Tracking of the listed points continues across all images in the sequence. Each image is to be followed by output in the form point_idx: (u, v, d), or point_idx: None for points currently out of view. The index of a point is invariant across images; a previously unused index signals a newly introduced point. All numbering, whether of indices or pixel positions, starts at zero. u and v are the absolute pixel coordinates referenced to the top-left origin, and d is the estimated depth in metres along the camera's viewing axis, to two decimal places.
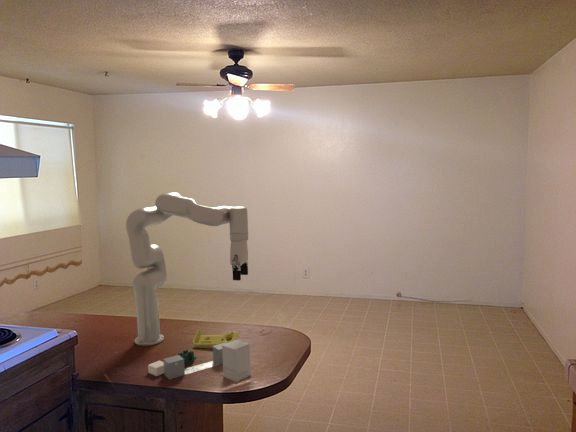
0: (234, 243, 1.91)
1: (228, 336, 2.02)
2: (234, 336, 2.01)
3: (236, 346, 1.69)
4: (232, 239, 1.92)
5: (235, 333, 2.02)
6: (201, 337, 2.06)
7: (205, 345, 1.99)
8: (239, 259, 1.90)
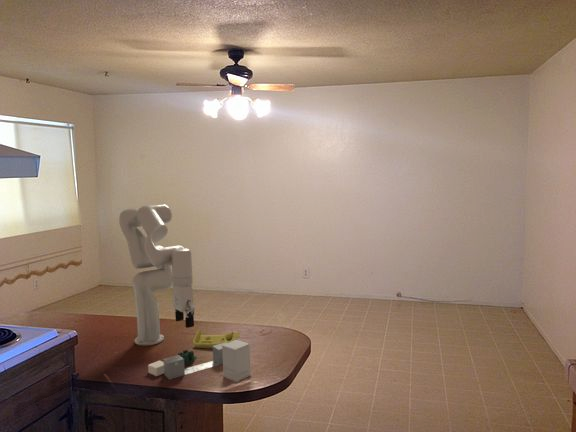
0: (186, 288, 1.78)
1: (228, 336, 2.02)
2: (234, 336, 2.01)
3: (236, 346, 1.69)
4: (181, 284, 1.78)
5: (235, 333, 2.02)
6: (201, 337, 2.06)
7: (205, 345, 1.99)
8: (192, 304, 1.80)
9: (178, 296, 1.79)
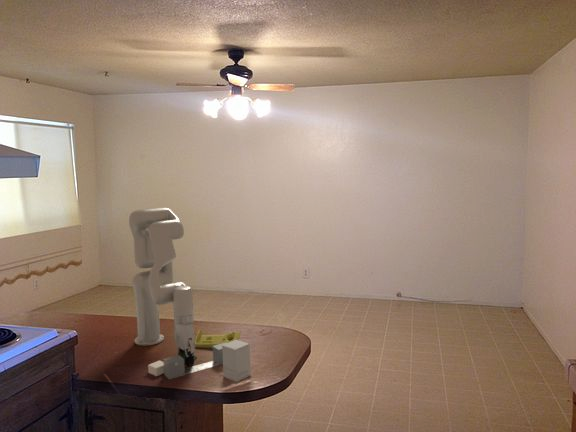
0: (188, 326, 1.80)
1: (229, 336, 2.03)
2: (236, 336, 2.01)
3: (236, 346, 1.69)
4: (183, 323, 1.80)
5: (236, 333, 2.03)
6: (202, 337, 2.06)
7: (207, 345, 1.99)
8: (193, 342, 1.81)
9: (179, 334, 1.81)
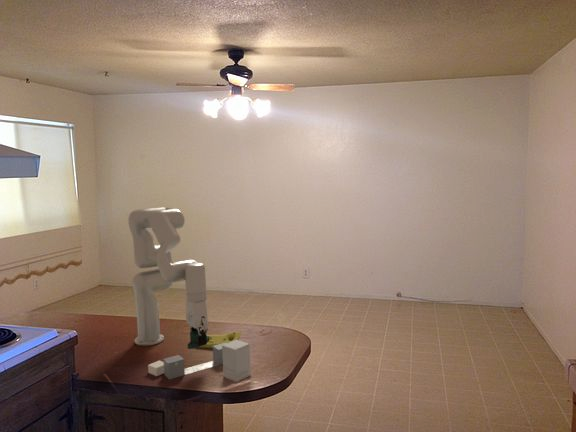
0: (200, 303, 1.73)
1: (230, 336, 2.02)
2: (236, 336, 2.01)
3: (236, 346, 1.69)
4: (195, 300, 1.74)
5: (237, 333, 2.02)
6: None
7: (207, 345, 1.99)
8: (206, 320, 1.75)
9: (192, 312, 1.74)
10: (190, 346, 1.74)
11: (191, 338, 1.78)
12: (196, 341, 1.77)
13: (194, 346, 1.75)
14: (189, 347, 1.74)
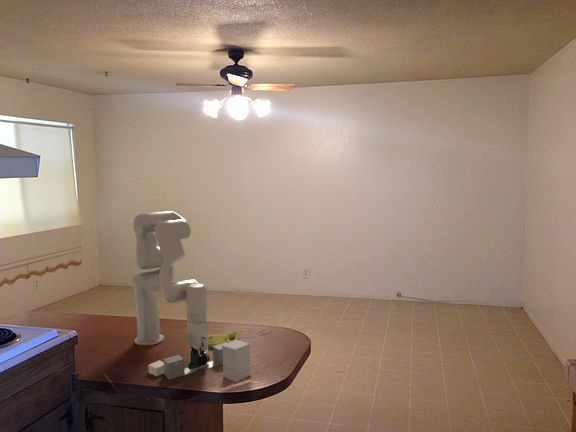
0: (201, 325, 1.74)
1: (231, 336, 2.03)
2: (237, 335, 2.01)
3: (236, 346, 1.69)
4: (196, 321, 1.75)
5: (238, 332, 2.03)
6: None
7: (208, 345, 1.99)
8: (207, 341, 1.76)
9: (192, 333, 1.75)
10: (190, 367, 1.75)
11: (191, 358, 1.79)
12: (196, 361, 1.78)
13: (194, 366, 1.76)
14: (189, 368, 1.75)
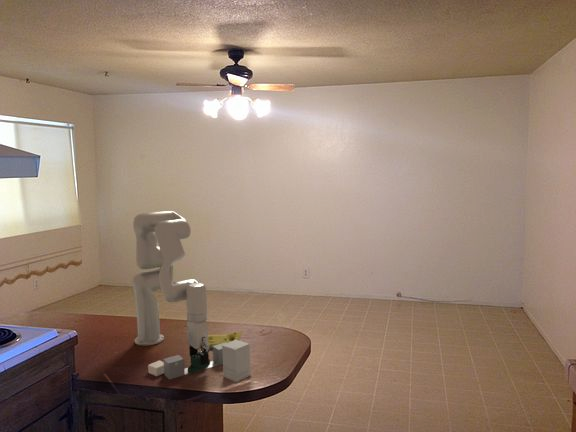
0: (201, 324, 1.74)
1: (231, 336, 2.02)
2: (237, 336, 2.01)
3: (236, 346, 1.69)
4: (196, 321, 1.74)
5: (238, 333, 2.02)
6: None
7: None
8: (207, 340, 1.76)
9: (193, 332, 1.75)
10: (190, 370, 1.76)
11: (191, 362, 1.79)
12: (196, 365, 1.78)
13: (194, 370, 1.76)
14: (189, 371, 1.76)
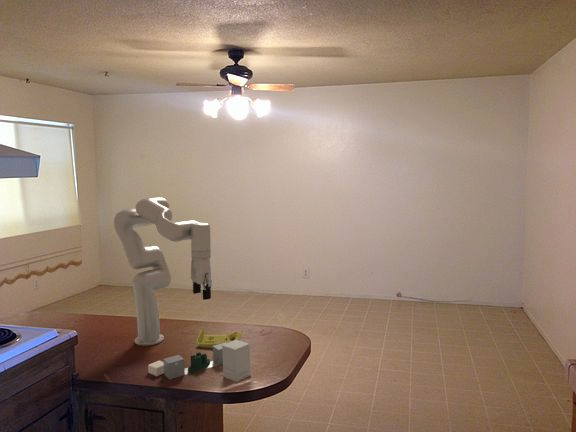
0: (205, 261, 1.83)
1: (232, 336, 2.02)
2: (238, 336, 2.01)
3: (236, 346, 1.69)
4: (200, 257, 1.83)
5: (239, 333, 2.02)
6: (204, 337, 2.06)
7: (209, 345, 1.99)
8: (209, 277, 1.85)
9: (196, 269, 1.84)
10: (190, 370, 1.76)
11: (191, 362, 1.79)
12: (196, 365, 1.78)
13: (194, 370, 1.76)
14: (189, 371, 1.76)
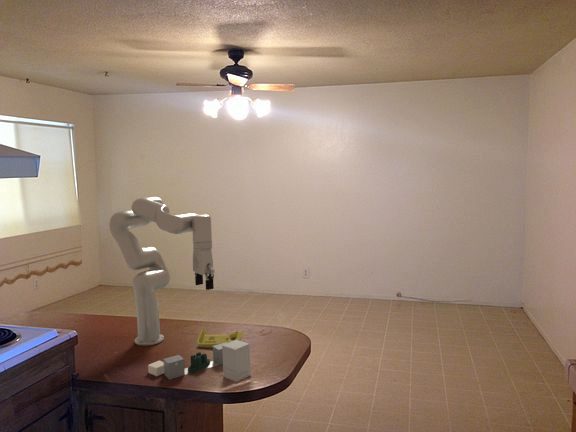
0: (207, 251, 1.87)
1: (232, 336, 2.03)
2: (238, 335, 2.01)
3: (236, 346, 1.69)
4: (202, 248, 1.87)
5: (239, 332, 2.03)
6: (205, 337, 2.06)
7: (210, 345, 1.99)
8: None
9: (198, 260, 1.88)
10: (190, 370, 1.76)
11: (191, 362, 1.79)
12: (196, 365, 1.78)
13: (194, 370, 1.76)
14: (189, 371, 1.76)
